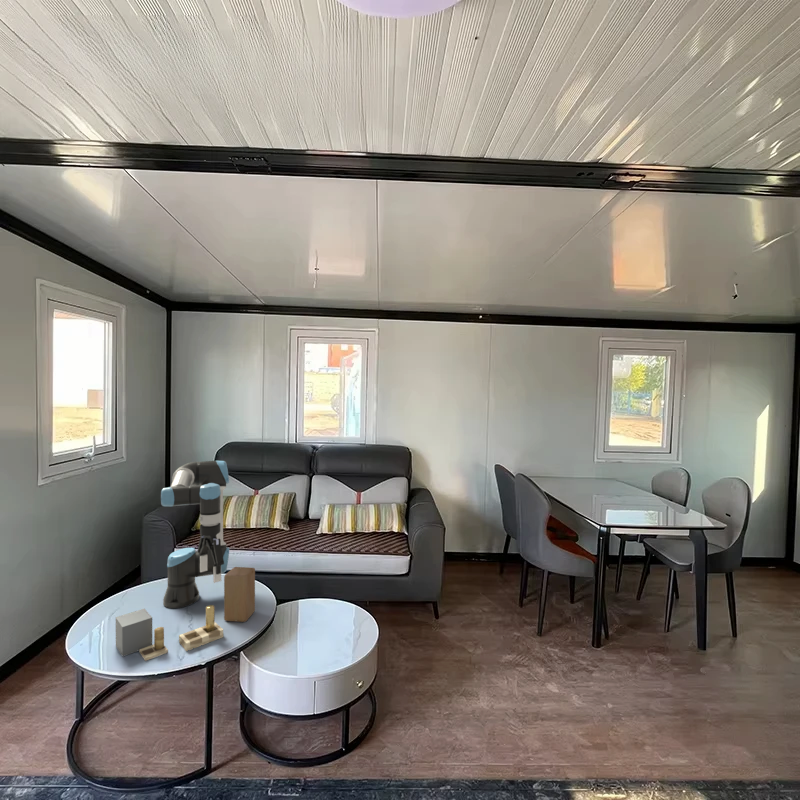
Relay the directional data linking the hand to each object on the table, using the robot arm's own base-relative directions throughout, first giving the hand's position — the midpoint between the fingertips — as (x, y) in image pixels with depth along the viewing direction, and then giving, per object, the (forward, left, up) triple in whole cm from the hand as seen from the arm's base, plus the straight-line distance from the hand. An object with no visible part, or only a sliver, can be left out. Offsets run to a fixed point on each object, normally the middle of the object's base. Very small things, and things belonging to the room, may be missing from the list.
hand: (210, 576), depth 176 cm
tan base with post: (-4, -20, -24) cm, 31 cm away
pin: (0, 0, -24) cm, 24 cm away
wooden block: (-7, +15, -24) cm, 30 cm away
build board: (0, -4, -24) cm, 24 cm away
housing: (-14, -24, -24) cm, 37 cm away
